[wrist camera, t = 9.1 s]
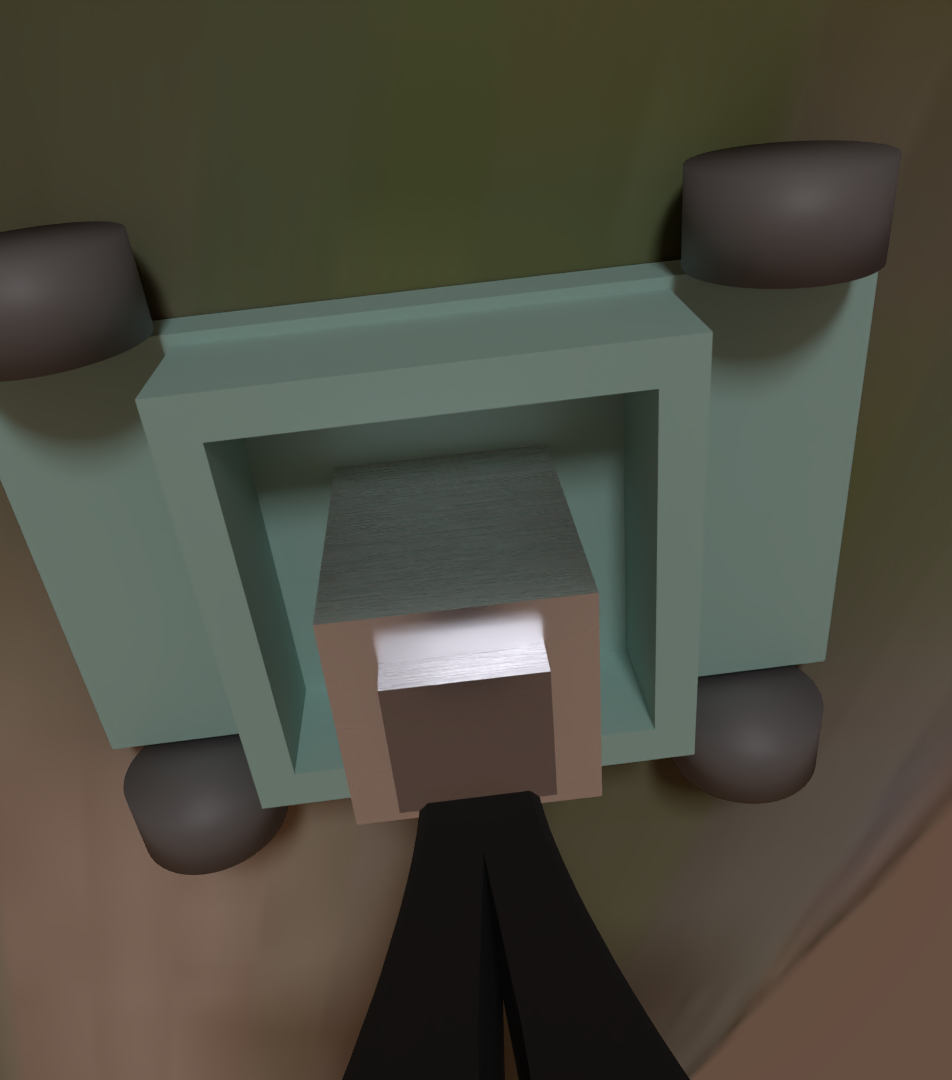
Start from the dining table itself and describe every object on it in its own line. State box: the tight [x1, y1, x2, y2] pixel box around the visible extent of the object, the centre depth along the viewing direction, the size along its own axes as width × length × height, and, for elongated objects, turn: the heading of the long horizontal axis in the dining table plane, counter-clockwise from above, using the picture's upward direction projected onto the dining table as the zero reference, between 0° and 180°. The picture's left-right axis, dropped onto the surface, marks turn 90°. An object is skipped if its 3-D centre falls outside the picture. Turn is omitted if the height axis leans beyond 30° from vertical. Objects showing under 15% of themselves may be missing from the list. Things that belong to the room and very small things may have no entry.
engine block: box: [313, 445, 602, 825], centre depth 15 cm, size 4×4×6 cm
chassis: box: [0, 140, 901, 875], centre depth 17 cm, size 16×13×4 cm
